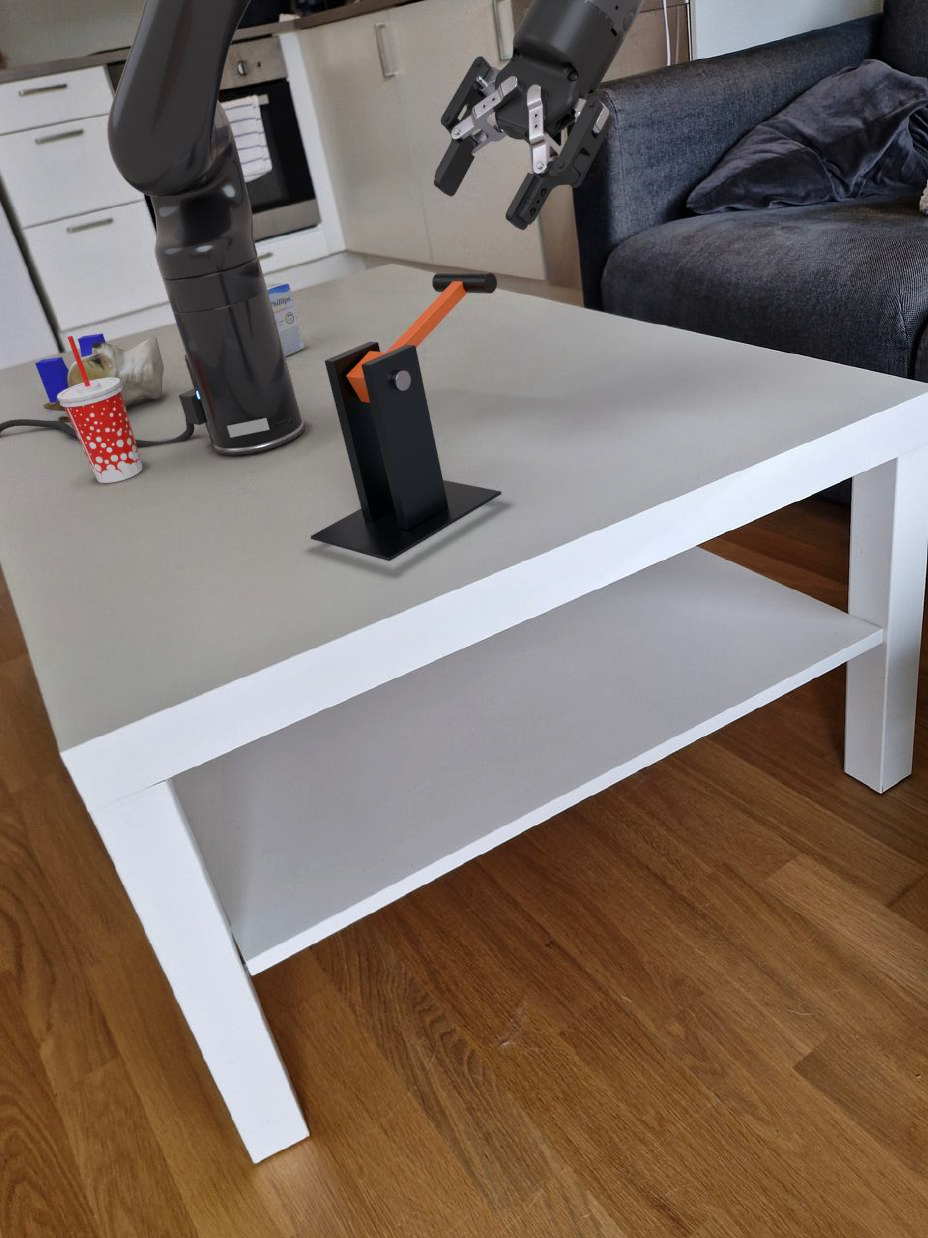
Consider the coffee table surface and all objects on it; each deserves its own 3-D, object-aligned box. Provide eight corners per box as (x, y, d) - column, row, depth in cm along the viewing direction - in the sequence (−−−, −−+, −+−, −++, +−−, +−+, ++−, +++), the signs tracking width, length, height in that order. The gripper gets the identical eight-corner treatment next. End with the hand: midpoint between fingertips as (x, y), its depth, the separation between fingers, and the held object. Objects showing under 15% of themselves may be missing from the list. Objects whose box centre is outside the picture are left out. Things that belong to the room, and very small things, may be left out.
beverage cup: (161, 465, 104) (114, 327, 98) (108, 489, 101) (55, 348, 94) (130, 458, 108) (83, 325, 102) (78, 481, 105) (25, 345, 98)
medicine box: (243, 356, 139) (225, 291, 135) (268, 346, 142) (251, 281, 137) (281, 359, 134) (263, 291, 130) (306, 348, 137) (289, 281, 132)
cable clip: (89, 380, 143) (73, 337, 140) (117, 376, 142) (102, 333, 139) (42, 410, 133) (24, 364, 130) (73, 406, 132) (55, 360, 129)
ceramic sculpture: (161, 327, 120) (36, 372, 115) (189, 397, 125) (69, 444, 119) (139, 317, 129) (21, 360, 124) (165, 383, 133) (52, 427, 128)
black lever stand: (424, 489, 86) (388, 324, 79) (504, 506, 80) (473, 329, 73) (314, 551, 79) (265, 376, 73) (392, 574, 73) (347, 386, 67)
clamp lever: (450, 289, 81) (437, 263, 79) (502, 290, 77) (490, 263, 76) (346, 399, 76) (330, 373, 74) (396, 406, 72) (381, 379, 71)
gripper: (493, -37, 80) (392, 158, 83) (632, 0, 73) (514, 214, 76) (542, 21, 86) (445, 201, 90) (674, 61, 79) (563, 257, 82)
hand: (477, 207), depth 83 cm, fingers open, 8 cm apart
